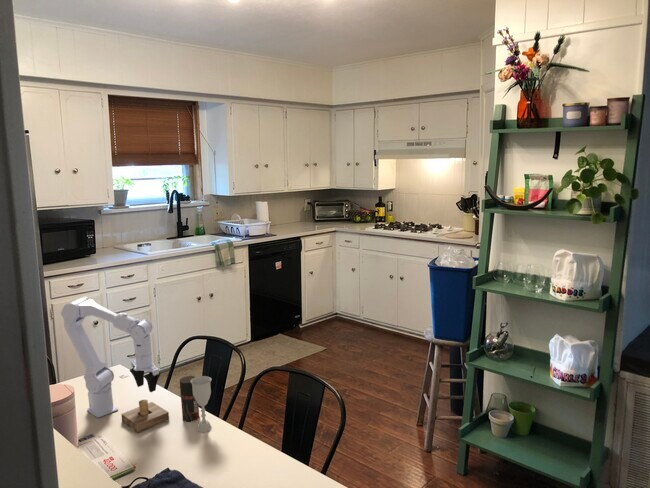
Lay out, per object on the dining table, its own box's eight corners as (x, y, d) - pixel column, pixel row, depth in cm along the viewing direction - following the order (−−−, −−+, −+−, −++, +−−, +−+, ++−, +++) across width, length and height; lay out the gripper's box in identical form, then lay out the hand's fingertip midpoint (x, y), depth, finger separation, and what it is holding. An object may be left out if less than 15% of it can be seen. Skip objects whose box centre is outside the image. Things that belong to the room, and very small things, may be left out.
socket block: (122, 421, 190) (121, 413, 190) (152, 409, 199) (151, 401, 198) (138, 432, 182) (137, 425, 182) (169, 419, 191) (168, 411, 190)
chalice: (218, 424, 186) (215, 377, 183) (208, 434, 180) (204, 385, 177) (200, 421, 189) (197, 375, 185) (190, 431, 182) (186, 383, 179)
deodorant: (195, 422, 188) (192, 383, 186) (179, 421, 190) (176, 382, 187) (202, 414, 194) (199, 376, 191) (187, 413, 195) (184, 375, 193)
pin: (139, 419, 190) (137, 401, 189) (147, 416, 192) (145, 398, 191) (142, 422, 188) (140, 404, 187) (150, 419, 190) (149, 401, 189)
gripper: (122, 352, 193) (125, 387, 195) (145, 361, 184) (148, 397, 187) (139, 347, 199) (142, 380, 201) (162, 355, 190) (165, 390, 192)
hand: (146, 388), depth 194 cm, fingers open, 7 cm apart
